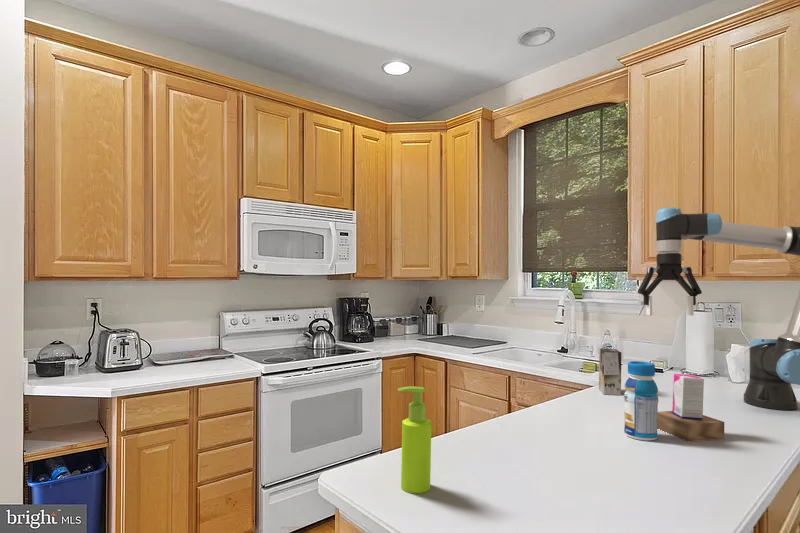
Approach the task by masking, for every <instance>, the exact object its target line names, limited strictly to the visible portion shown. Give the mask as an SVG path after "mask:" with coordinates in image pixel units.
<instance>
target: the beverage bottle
mask: <svg viewBox="0 0 800 533" xmlns="http://www.w3.org/2000/svg"><path fill="white" fill-rule="evenodd" d="M627 374H628V375H629V377H628V378H627V379H626V381H625V383H624V388H625V392H624V393H623V394H624V395H623V398H624V429H623V430H624V434H625V436H627V437H629V438H630V439H633V440H638V441H646V442H647V441H649V442H650V441H656V440H657V439H658V429H657V413H658V412H659V411H658V406H659V405H658V403H659V397H658V396H659V395H657V393H658V391H659V388H658V385H657V383H656V381H655V380H654V377H655V376H656V365H655V363H653V362H647V361H639V360H637V361H635V360H634V361H633V360H632V361H628V362H627Z"/></svg>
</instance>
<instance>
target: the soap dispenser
mask: <svg viewBox="0 0 800 533" xmlns="http://www.w3.org/2000/svg"><path fill="white" fill-rule="evenodd" d="M397 392H399V393H400V394H401V393H406V392H409V393H410V392H412V394H413V395H412V401H411V402H410V403H408V417H407V418H404V419H403V420H402V422H401V423H402V424H401V428H402V429H401V464H400V467H401V469H400V470H401V472H400V474H401V475H400V478H401V479H400V488H401V489H402V491H404V492H406V493H408V494H409V493H410V494H415V495H416V494H423V493H427V492H428V491H430V490H431V467H432V466H431V465H432V464H431V461H432V460H431V459H432V420H430V419H428V418H426V407H427V406H426V404H425V403H424V402H422V396H423V395H422V393H425V392H426V389H425V387H424V386H415V385H413V386H409V385H408V386H403V387H398V388H397Z"/></svg>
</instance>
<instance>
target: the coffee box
mask: <svg viewBox="0 0 800 533" xmlns="http://www.w3.org/2000/svg"><path fill="white" fill-rule="evenodd" d="M598 352H599V353H598V357H599V358H598V390H599V391H600V392H601V393H602V394H603V395H609V396H610V395H611V396H622V352H621V351H619V350H618V349H615V348H599V350H598Z"/></svg>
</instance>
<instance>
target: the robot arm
mask: <svg viewBox="0 0 800 533" xmlns="http://www.w3.org/2000/svg"><path fill="white" fill-rule="evenodd" d="M655 232H656V235H655V236H656V240H655V241H656V242H655V243H656V246H655V247H656V253H657V254H656V267H653V266H648V267H647V268H646V274H645V276H644V278H643V280H642V282H641V284H640V286H639V288H638V290H637V294H638V295H642V296H643V305H644V306H645V307H646V308H645V311H646V316H647V315H648V316H653V296H652V295H651V294H652V293H653V292H654V290H656V288H657V287H658V285H659V284H661V282H663V281H676V282H677V283H678V284H679V285H680V286H681V287H682V289H683V290H684V291H685V292H686V293H687V294H688V295H686V315H687V316H694V306H696V304H697V303H696V302H697V300H696V299H697V298H696V297H697V296H698V295H702V293H703V291H702V289H701V287H700V286H699V284H698V282H697V280H696V277H695V276H694V274H693V271H692V270H693V269H692V266H686V267H683V266H682V262H683V261H682V254H681V252H682V240H694V241H704V242H713V243H720V244H727V245H728V244H729V245H730V244H731V245H736V246H745V247H752V248H760V249H769V250H776V251H777V252H778V253H779V254H787V255H792V256H793V255H794V256H797V257H798V256H799V257H800V226H790V225H784V226H783V227H772V226H762V225H756V224H755V225H753V224H746V223H745V224H744V223H738V222H737V223H735V222H727V221H723V218H722V217H721V215H720V214H719V213H716V212H714V213H710V212H707V213H704V212H703V213H700V212H699V213H682V211H681V208H679V207H663V208H660V209H658V210H656V215H655ZM655 273H656V274H657V275H656V277H655V278H654V279H653V281H652V280H651V279H652V277H653V276H654V274H655ZM682 273H683V274H684V275H685V278H686V279H687V281H688V282H687V281H686V280H685V279H684V276H682V275H681V274H682ZM651 281H652V282H651ZM650 282H651V283H650ZM748 351H749V381H748V383H747V386H746V388H745V390H744V393H743V402H744V403H745V404H747V405H752V406H755V407H758V408H759V407H760V408H765V409H771V410H772V409H773V410H778V411H779V410H780V411H795V410H797V409H798V407H799V406H798V400H797V397H796V395H795V394H796V393H795V392H794V389H793V386H792V385H798V386H800V290H799V291H798V295H797V297H796V301H795V304H794V307H793V310H792V313H791V316H790V320H789V322H788V325H787V328H786V331H785V333H783V334H780V335H779V336H778V337H777V338H776V339H775V338H772V339H771V338H753V339H751V340H750V342H749V348H748Z"/></svg>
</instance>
